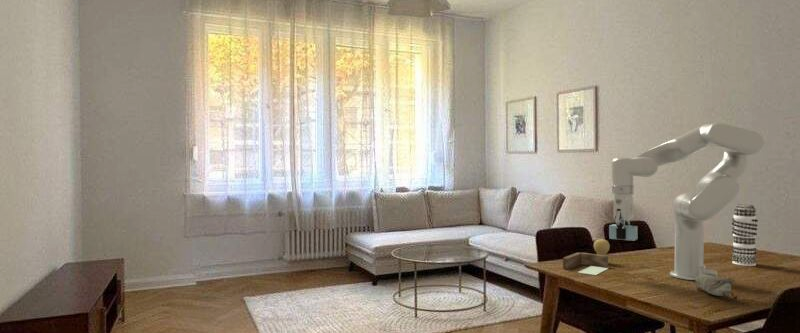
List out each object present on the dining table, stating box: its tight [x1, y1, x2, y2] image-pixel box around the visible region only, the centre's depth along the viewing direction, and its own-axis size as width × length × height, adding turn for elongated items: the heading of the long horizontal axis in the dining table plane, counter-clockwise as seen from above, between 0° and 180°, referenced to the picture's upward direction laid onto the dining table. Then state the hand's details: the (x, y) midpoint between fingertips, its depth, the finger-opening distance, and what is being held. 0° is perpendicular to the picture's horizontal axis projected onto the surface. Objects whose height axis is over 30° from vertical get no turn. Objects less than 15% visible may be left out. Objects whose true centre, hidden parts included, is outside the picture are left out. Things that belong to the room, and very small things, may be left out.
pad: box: [577, 265, 609, 276], centre depth 203 cm, size 7×15×1 cm, turn 140°
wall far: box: [562, 251, 582, 270], centre depth 211 cm, size 2×16×4 cm, turn 139°
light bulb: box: [593, 238, 611, 256], centre depth 218 cm, size 6×6×10 cm
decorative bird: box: [695, 274, 738, 302], centre depth 167 cm, size 5×16×7 cm, turn 6°
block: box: [608, 223, 639, 242], centre depth 195 cm, size 9×4×5 cm, turn 48°
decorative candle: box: [731, 203, 759, 267], centre depth 215 cm, size 9×9×25 cm
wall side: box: [578, 251, 609, 268], centre depth 213 cm, size 12×2×4 cm, turn 50°
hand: (623, 237), depth 195 cm, fingers closed on block, 4 cm apart
